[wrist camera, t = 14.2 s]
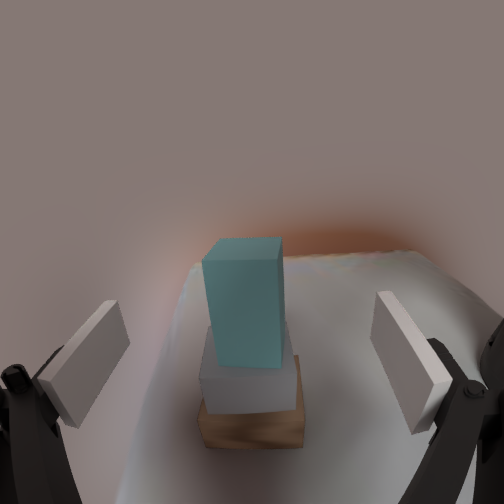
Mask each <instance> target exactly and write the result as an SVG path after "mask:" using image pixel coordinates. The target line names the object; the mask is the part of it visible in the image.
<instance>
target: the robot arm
mask: <svg viewBox="0 0 504 504" xmlns="http://www.w3.org/2000/svg"><path fill="white" fill-rule="evenodd" d="M370 339H371V341H372V343H373V345H374V348H375V350H376V352H377V354H378V356H379V358H380V361H381V363H382V365H383V367H384V370H385V372H386V374H387V376H388V379H389V381H390V383H391V386H392V388H393V390H394V393H395V395H396V397H397V400H398V402H399V405H400V407H401V409H402V412H403V414H404V417H405V419H406V422H407V424H408V427H409V429H410V432H411V435H413V434H416V433H420V432H424V431H428V430H429V429H430V427H431V425H432V423H433V421H434V422H435V424H436V426H437V429H436V431H435V433H434V434H433V436H432V438H431V440H430V441H429V443H428V444H429V446H428V449H427V451H426V453H425V455H424V457H423V459H422V461H421V463H420V465H419V467H418V469H417V471H416V473H415V475H414V477H413V479H412V480H411V482H410V484H409V486H408V488H407V489H406V491H405V493H404V495H403V496H402V498H401V500H400V501H399V503H398V504H455V503H456V501H457V499H458V496H459V494H460V491H461V489H462V486H463V484H464V481H465V478H466V475H467V473H468V470H469V467H470V464H471V461H472V458H473V455H474V451H475V448H476V445H477V461H476V476H475V487H474V495H473V503H472V504H504V319H503V320H502V322H501V323H500V325H499V326H498V328H497V329H496V330H495V332H494V333H493V335H492V336H491V337H490V339H489V340H488V342H487V344H486V347H485V349H484V352H483V354H482V357H481V361H480V368H481V373H482V376H483V379H484V381H485V383H486V384H487V386H488V387H489V389H490V390H487V389H486V387H485V386H484V385H483V384H482V383H480V382H478V381H476V380H468V378H467V377H466V375H465V374H464V372H463V371H462V369H461V368H460V367H459V365H458V364H457V362H456V361H455V359H453V357H452V355H451V354H450V353H449V351H448V350H447V348H446V347H445V346H444V344H443V343H441V342H440V341H438V340H437V339H435V338H431V339H426V338H425V337H424V336H423V334H422V333H421V331H420V330H419V328H418V327H417V326H416V324H415V323H414V321H413V320H412V319H411V317H410V316H409V315H408V313H407V312H406V311H405V309H404V308H403V306H402V305H401V304H400V302H399V301H398V300H397V298H396V297H395V296H394V295H393V293H392V292H391V291H381V292H376V300H375V308H374V316H373V323H372V329H371V336H370ZM129 345H130V341H129V338H128V335H127V331H126V328H125V325H124V321H123V318H122V315H121V311H120V308H119V304H118V301H112V300H109V301H108V300H106V301H105V302H104V303H103V304H102V305H101V306H100V307H99V308H98V309H97V310H96V311H95V312H94V314H93V315H92V316H91V317H90V318H89V319H88V320H87V321H86V322H85V323H84V324H83V325H82V327H81V328H80V329H79V330H78V331H77V332H76V333H75V334H74V335H73V337H72V338H71V339H70V340H69V341H68V342H67V343H66V344H65V345H63V346H62V347H60V348H59V349H58V350H56V351H55V352H54V353H53V354H52V356H51V357H50V358H49V359H48V360H47V361H46V364H44V365H43V366H42V367H41V368H40V369H39V371H38V372H37V373H36V374H35V375H34V377H33V378H32V379H30V377H29V375H28V373H27V371H26V369H25V368H24V366H23V365H21V364H14V365H11V366H9V367H7V368H6V369H5V370H4V371H3V372H2V374H1V379H2V380H3V382H4V384H5V386H6V387H7V389H2V387H1V386H0V426H1V427H0V504H82V501H81V498H80V496H79V493H78V490H77V487H76V484H75V481H74V478H73V475H72V472H71V469H70V465H69V462H68V458H67V455H66V451H65V447H64V443H63V439H62V435H61V431H60V426H59V425H58V423H57V421H56V420H57V419H58V417H59V416H60V417H61V419H62V420H63V422H64V423H65V425H68V426H71V427H75V428H79V427H80V425H81V424H82V422H83V420H84V418H85V417H86V415H87V413H88V411H89V410H90V408H91V406H92V405H93V403H94V401H95V399H96V398H97V396H98V395H99V393H100V391H101V390H102V388H103V386H104V384H105V383H106V381H107V380H108V378H109V376H110V375H111V373H112V371H113V370H114V368H115V367H116V365H117V364H118V362H119V360H120V359H121V357H122V356H123V354H124V352H125V351H126V349H127V348H128V346H129Z"/></svg>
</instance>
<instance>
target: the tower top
mask: <svg viewBox="0 0 504 504" xmlns="http://www.w3.org/2000/svg"><path fill="white" fill-rule="evenodd" d="M199 381H200V385H201V389H202V393H203V397H204V401H205V405H206V409H207V413H208V414H249V413H265V412H278V411H288V410H296V394H297V370H296V365H295V360H294V356H293V351H292V346H291V342H290V337H289V332H288V328H287V323H286V322H285V341H284V350H283V359H282V368H281V369H276V368H246V367H228V366H218V360H217V355H216V349H215V343H214V338H213V332H212V326H209V327H208V332H207V337H206V342H205V347H204V353H203V358H202V363H201V369H200V374H199Z"/></svg>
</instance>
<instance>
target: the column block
mask: <svg viewBox="0 0 504 504" xmlns="http://www.w3.org/2000/svg"><path fill="white" fill-rule="evenodd" d="M282 251H283V250H282V237H260V238H229V239H228V238H226V239H219V241H218V242H217V243H216V244H215V245H214V246H213V248H212V249H211V250H210V251H209V252H208V254H207V255H206V256H205V257H204V258H203V259H202V267H203V274H204V281H205V288H206V295H207V301H208V307H209V314H210V320H211V326H212V332H213V338H214V343H215V349H216V355H217V360H218V366H228V367H246V368H276V369H281V368H282V359H283V350H284V341H285V302H284V274H283V252H282Z"/></svg>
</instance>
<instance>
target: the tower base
mask: <svg viewBox="0 0 504 504" xmlns="http://www.w3.org/2000/svg"><path fill="white" fill-rule="evenodd" d="M293 356H294V360H295V365H296V370H297V394H296V410H288V411H278V412H265V413H249V414H208V413H207V409H206V405H205V401H204V397H203V399H202V403H201V407H200V411H199V414H198V418H197V422H198V425H199V428H200V431H201V434H202V437H203V440H204V443H205V446H206V447H209V448H226V449H289V448H303V438H304V426H305V416H304V405H303V395H302V385H301V376H300V366H299V357H298V355H293Z"/></svg>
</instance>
